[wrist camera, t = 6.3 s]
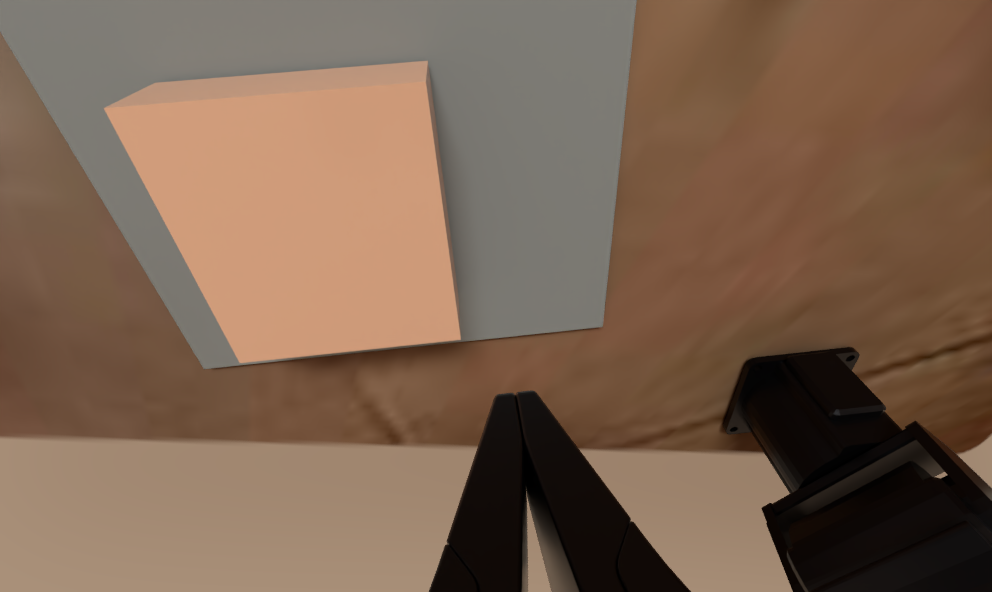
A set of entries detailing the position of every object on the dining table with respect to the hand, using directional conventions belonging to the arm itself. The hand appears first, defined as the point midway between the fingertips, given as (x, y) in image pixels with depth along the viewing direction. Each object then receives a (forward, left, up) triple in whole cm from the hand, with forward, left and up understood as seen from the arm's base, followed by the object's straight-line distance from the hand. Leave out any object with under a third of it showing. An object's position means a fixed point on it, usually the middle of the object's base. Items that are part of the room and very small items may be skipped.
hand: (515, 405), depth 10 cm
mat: (0, +4, -12) cm, 13 cm away
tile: (0, +1, -10) cm, 10 cm away
